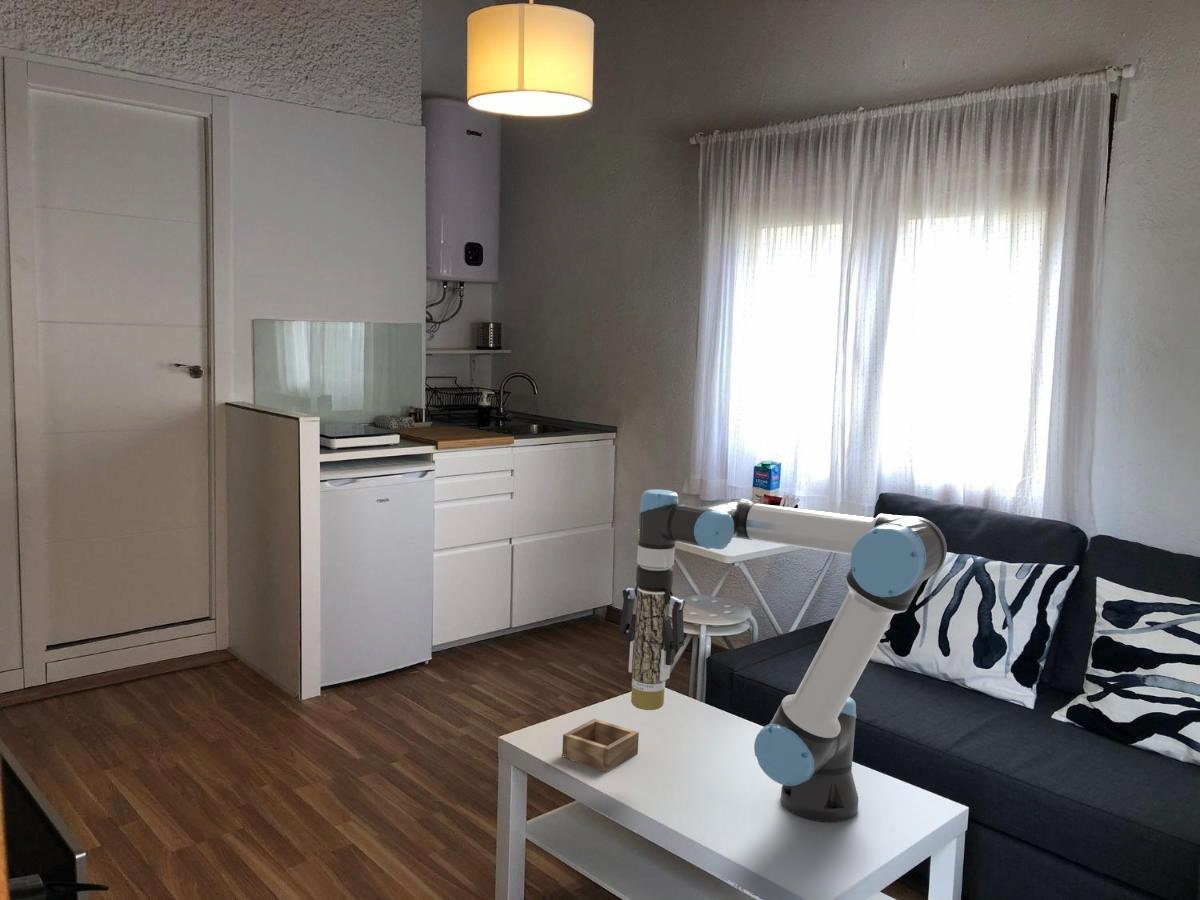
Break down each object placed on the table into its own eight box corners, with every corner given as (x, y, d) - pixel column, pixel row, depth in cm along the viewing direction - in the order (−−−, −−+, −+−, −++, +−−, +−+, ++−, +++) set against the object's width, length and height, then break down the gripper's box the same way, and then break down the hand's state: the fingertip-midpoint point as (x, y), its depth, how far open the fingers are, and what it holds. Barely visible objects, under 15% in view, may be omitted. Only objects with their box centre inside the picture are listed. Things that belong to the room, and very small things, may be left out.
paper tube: (661, 713, 204) (668, 593, 201) (628, 709, 206) (635, 590, 202) (665, 701, 211) (672, 585, 208) (633, 697, 212) (640, 581, 209)
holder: (637, 753, 222) (638, 732, 221) (607, 772, 212) (608, 749, 212) (593, 739, 229) (594, 718, 228) (562, 756, 219) (563, 734, 218)
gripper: (707, 571, 202) (699, 681, 205) (624, 554, 213) (618, 659, 216) (688, 578, 196) (681, 691, 199) (604, 560, 207) (599, 668, 210)
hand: (648, 674), depth 207 cm, fingers closed on paper tube, 7 cm apart
